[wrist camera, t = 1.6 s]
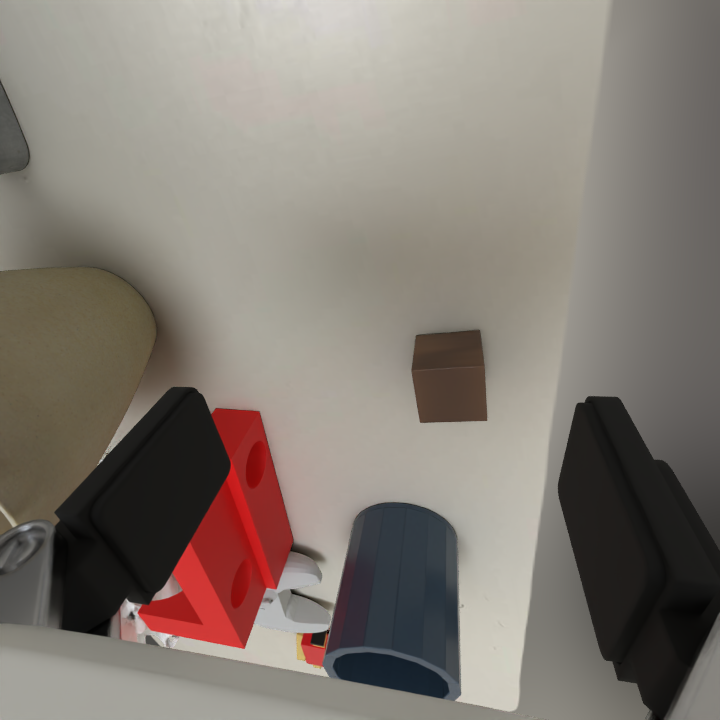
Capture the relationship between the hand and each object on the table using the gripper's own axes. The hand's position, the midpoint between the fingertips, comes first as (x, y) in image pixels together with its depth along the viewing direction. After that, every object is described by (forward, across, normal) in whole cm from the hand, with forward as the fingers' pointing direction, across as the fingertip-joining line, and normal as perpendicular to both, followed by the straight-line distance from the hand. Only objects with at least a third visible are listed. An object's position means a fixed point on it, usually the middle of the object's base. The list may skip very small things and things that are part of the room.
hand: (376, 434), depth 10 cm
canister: (+15, +2, +28) cm, 32 cm away
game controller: (+16, +16, +38) cm, 45 cm away
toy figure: (+16, +15, +55) cm, 59 cm away
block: (+15, -2, +8) cm, 17 cm away
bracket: (+16, +19, +22) cm, 33 cm away
